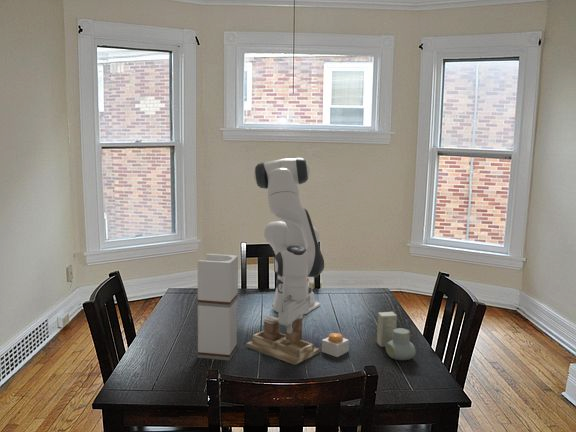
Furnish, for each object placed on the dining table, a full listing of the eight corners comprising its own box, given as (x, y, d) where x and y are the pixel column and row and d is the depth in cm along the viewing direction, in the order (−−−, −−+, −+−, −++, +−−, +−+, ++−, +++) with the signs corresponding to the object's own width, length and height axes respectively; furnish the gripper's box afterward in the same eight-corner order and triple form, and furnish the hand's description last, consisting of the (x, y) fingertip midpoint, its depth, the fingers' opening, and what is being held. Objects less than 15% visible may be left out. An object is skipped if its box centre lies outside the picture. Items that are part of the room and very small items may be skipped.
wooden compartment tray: (271, 336, 222) (272, 310, 220) (319, 352, 208) (320, 325, 206) (246, 346, 212) (246, 319, 210) (294, 365, 197) (295, 336, 195)
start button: (333, 340, 212) (334, 331, 212) (344, 344, 209) (345, 335, 208) (325, 344, 208) (326, 335, 208) (336, 348, 205) (337, 339, 205)
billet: (294, 336, 208) (295, 312, 206) (301, 339, 205) (302, 315, 203) (285, 338, 205) (286, 314, 204) (292, 342, 202) (293, 317, 201)
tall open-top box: (237, 348, 210) (238, 255, 204) (229, 360, 199) (230, 262, 194) (207, 345, 212) (207, 253, 206) (198, 357, 201) (197, 260, 195)
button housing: (332, 346, 214) (333, 334, 213) (348, 351, 210) (348, 339, 209) (321, 351, 209) (322, 340, 208) (337, 357, 204) (337, 345, 204)
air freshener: (382, 352, 210) (384, 326, 208) (403, 350, 212) (405, 324, 210) (396, 364, 199) (397, 337, 198) (417, 362, 202) (419, 335, 200)
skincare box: (391, 341, 220) (393, 311, 218) (395, 346, 216) (397, 315, 214) (376, 342, 219) (377, 311, 217) (379, 346, 214) (381, 315, 212)
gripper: (291, 301, 192) (289, 340, 194) (314, 286, 210) (312, 322, 212) (274, 298, 194) (273, 337, 196) (298, 283, 212) (297, 319, 215)
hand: (293, 329), depth 204 cm, fingers closed on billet, 5 cm apart
